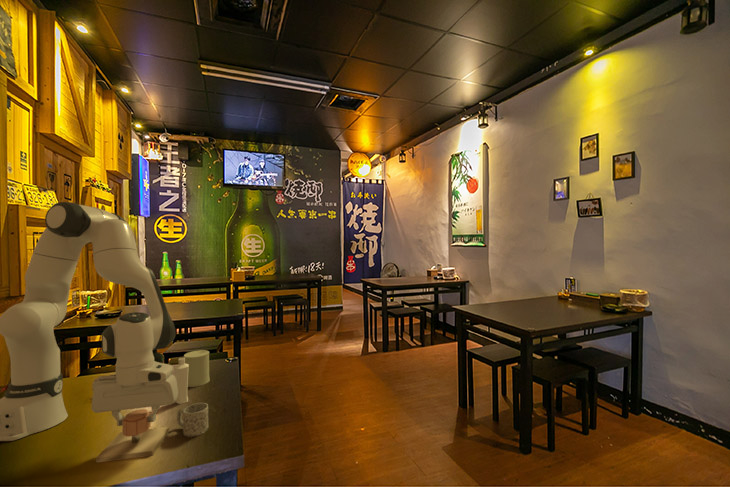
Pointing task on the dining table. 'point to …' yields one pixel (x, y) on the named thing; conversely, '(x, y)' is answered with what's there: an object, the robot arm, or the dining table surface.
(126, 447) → the board
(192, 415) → the mug
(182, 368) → the perfume bottle
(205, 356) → the can
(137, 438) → the stud
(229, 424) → the dining table surface
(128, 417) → the cap
